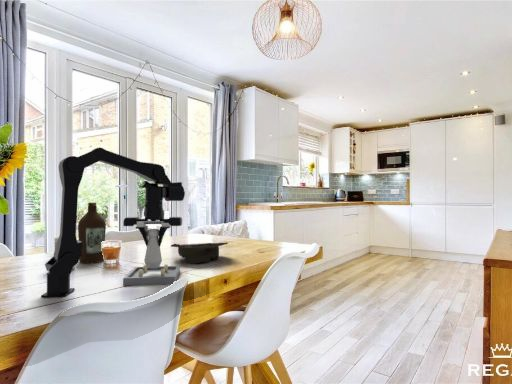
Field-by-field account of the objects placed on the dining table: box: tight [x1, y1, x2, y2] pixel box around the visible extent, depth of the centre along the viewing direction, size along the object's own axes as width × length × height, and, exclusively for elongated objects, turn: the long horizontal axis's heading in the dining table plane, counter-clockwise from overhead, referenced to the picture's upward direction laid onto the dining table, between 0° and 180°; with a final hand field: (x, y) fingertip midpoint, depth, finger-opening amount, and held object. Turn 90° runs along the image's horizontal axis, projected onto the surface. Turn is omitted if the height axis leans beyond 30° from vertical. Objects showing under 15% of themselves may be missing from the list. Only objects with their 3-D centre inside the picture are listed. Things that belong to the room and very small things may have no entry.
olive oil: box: [77, 202, 107, 265], centre depth 139 cm, size 11×11×25 cm
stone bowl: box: [170, 242, 229, 265], centre depth 144 cm, size 25×25×9 cm
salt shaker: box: [143, 228, 163, 268], centre depth 112 cm, size 6×6×13 cm
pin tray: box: [122, 263, 181, 286], centre depth 112 cm, size 16×16×4 cm
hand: (153, 246), depth 112 cm, fingers closed on salt shaker, 4 cm apart
